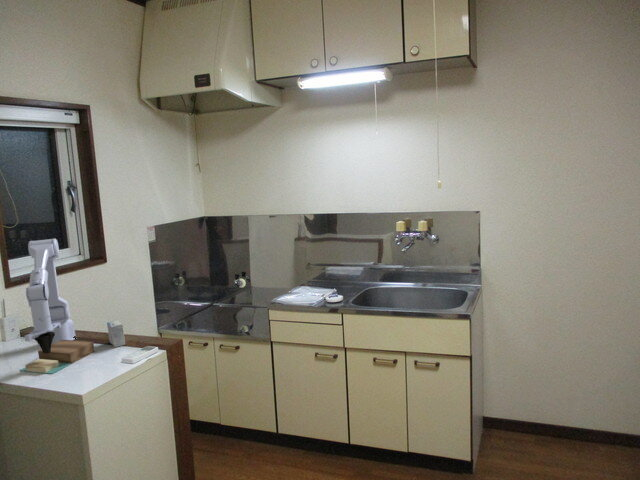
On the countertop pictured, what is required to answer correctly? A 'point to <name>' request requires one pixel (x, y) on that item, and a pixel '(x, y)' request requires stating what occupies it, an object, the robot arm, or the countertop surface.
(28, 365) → the cream rectangular block
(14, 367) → the countertop surface
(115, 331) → the medicine box
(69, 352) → the block
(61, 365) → the mat
